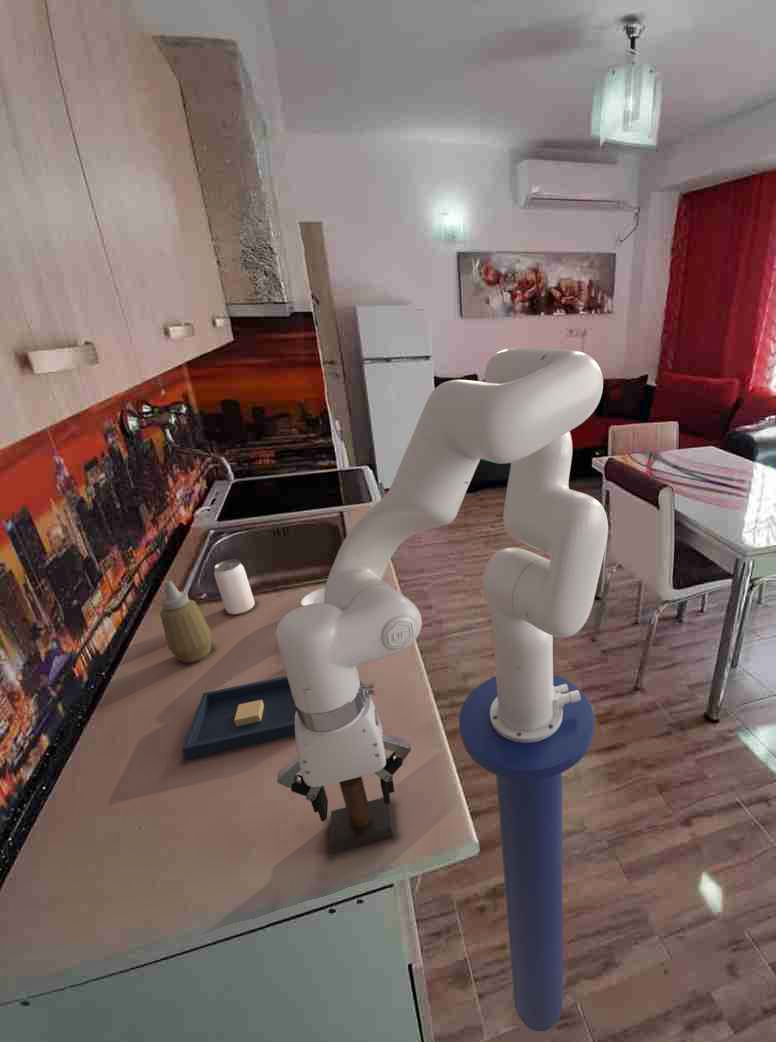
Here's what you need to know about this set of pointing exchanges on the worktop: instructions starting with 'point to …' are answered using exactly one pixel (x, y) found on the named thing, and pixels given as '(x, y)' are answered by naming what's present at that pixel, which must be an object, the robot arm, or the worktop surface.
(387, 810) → the stamp with brown handle
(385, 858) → the worktop surface
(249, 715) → the yellow square block
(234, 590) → the can
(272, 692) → the tray
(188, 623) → the squeeze bottle
